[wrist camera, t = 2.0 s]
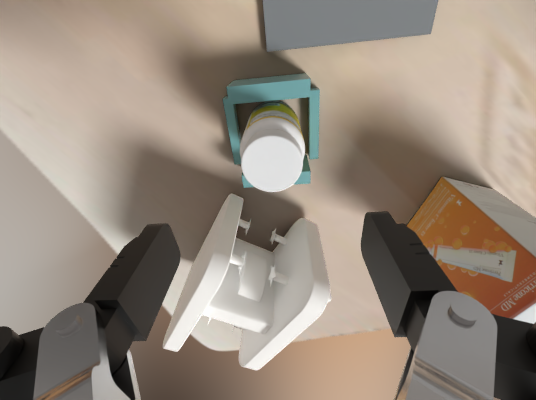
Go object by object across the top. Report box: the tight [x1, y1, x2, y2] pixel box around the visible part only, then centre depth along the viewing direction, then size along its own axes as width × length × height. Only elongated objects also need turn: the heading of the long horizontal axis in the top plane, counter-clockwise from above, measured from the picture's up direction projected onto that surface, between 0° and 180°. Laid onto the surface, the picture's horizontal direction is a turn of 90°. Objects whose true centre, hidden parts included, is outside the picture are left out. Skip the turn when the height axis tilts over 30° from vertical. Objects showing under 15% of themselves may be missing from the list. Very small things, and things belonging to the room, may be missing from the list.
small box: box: [407, 177, 536, 324], centre depth 22 cm, size 8×6×13 cm
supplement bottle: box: [240, 101, 305, 192], centre depth 19 cm, size 5×5×8 cm
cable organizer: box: [163, 193, 331, 370], centre depth 26 cm, size 15×11×12 cm
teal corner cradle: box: [223, 73, 320, 188], centre depth 21 cm, size 8×8×4 cm
